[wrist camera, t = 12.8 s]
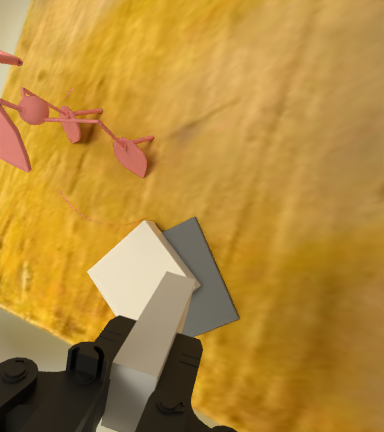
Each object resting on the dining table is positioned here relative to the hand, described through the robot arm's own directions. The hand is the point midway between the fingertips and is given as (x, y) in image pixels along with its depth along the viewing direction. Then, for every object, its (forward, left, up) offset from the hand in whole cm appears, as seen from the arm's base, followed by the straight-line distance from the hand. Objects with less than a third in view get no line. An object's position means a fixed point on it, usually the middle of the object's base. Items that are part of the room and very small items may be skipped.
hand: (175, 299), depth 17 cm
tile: (+11, +1, -22) cm, 24 cm away
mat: (+9, -2, -24) cm, 26 cm away
